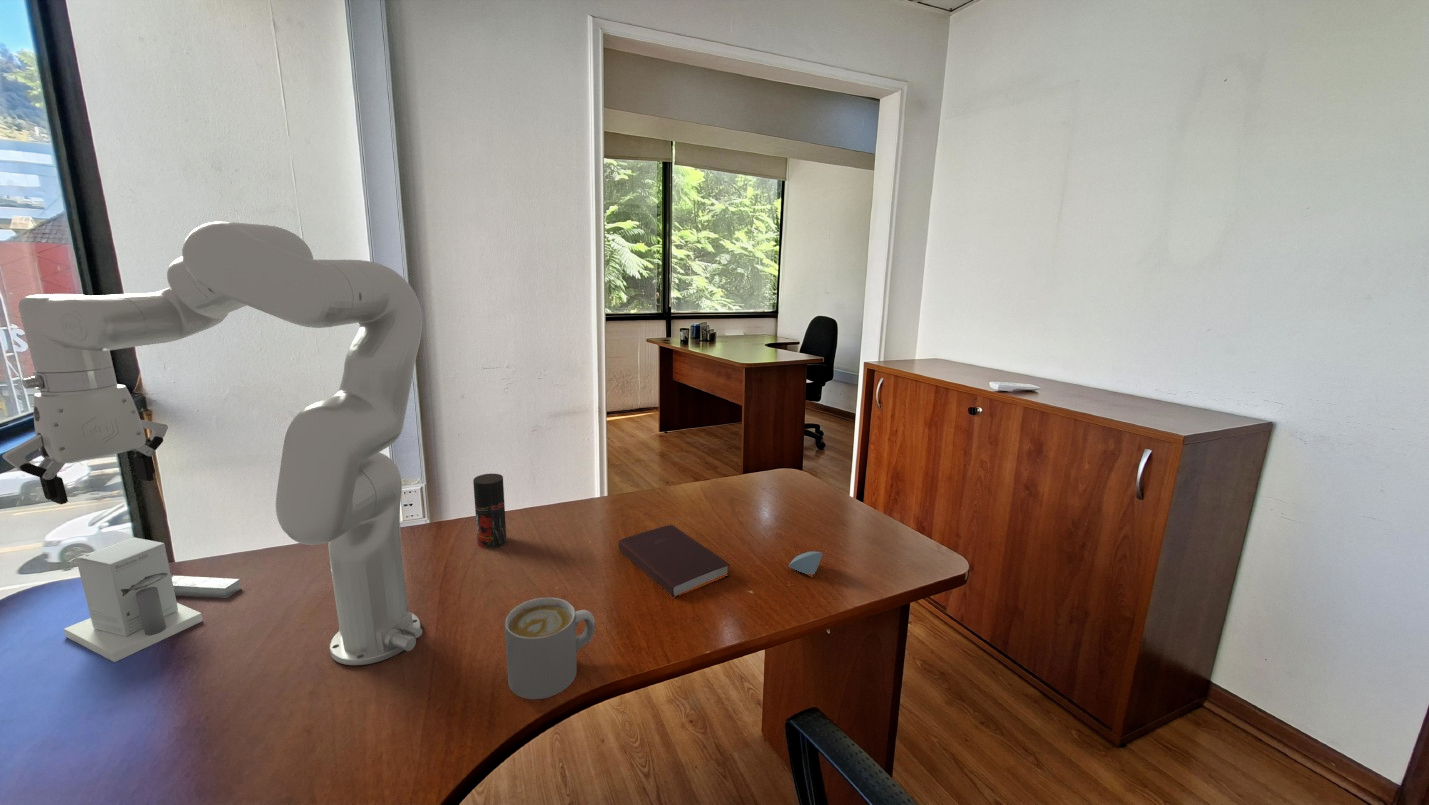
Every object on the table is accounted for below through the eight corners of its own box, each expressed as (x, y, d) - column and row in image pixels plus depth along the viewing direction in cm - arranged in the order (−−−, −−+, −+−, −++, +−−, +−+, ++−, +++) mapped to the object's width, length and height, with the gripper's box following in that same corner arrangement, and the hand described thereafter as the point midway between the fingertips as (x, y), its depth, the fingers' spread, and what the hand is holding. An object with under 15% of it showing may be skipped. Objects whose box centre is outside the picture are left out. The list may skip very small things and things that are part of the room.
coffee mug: (513, 708, 78) (510, 646, 75) (503, 663, 86) (500, 606, 84) (606, 679, 84) (606, 621, 81) (589, 640, 92) (588, 586, 90)
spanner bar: (244, 586, 103) (242, 577, 103) (223, 600, 99) (221, 590, 98) (159, 582, 103) (156, 572, 103) (134, 595, 99) (132, 585, 99)
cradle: (203, 621, 93) (194, 575, 91) (115, 662, 83) (102, 612, 81) (154, 599, 98) (144, 556, 96) (65, 636, 88) (52, 588, 86)
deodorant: (512, 541, 124) (508, 477, 120) (489, 551, 119) (484, 486, 115) (495, 533, 127) (491, 471, 123) (471, 543, 122) (467, 479, 118)
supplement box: (125, 638, 86) (107, 564, 83) (91, 629, 88) (73, 557, 85) (180, 610, 93) (166, 542, 90) (148, 603, 95) (132, 535, 92)
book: (671, 601, 104) (672, 584, 104) (617, 552, 121) (617, 537, 120) (730, 579, 113) (731, 563, 112) (672, 536, 129) (672, 522, 129)
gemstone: (836, 568, 111) (826, 544, 114) (802, 578, 109) (792, 554, 111) (823, 578, 118) (814, 555, 120) (790, 588, 115) (782, 565, 118)
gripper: (-1, 395, 72) (33, 517, 76) (168, 373, 87) (188, 475, 91) (-28, 388, 74) (7, 507, 78) (141, 369, 90) (162, 468, 94)
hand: (104, 490), depth 85 cm, fingers open, 9 cm apart
